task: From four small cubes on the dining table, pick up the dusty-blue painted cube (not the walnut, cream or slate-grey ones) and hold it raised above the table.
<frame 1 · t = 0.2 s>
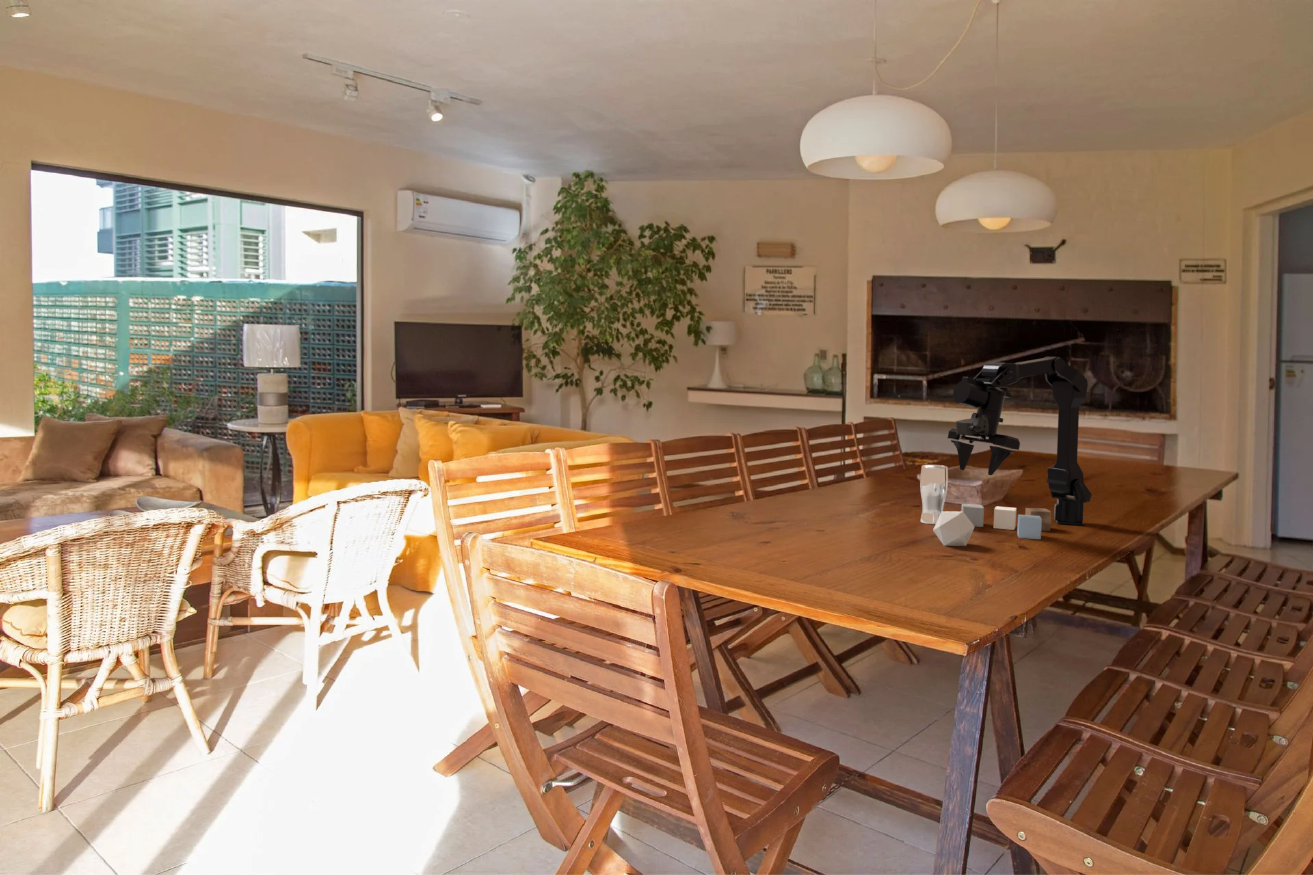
hand: (975, 472, 238), 15 cm above the table, tool pointing down, fingers open, 9 cm apart
blue cube: (1028, 536, 234), on the table
grey cube: (971, 524, 249), on the table
die: (952, 545, 223), on the table
cream cube: (1004, 527, 245), on the table
beer glass: (932, 523, 251), on the table
walnut cube: (1037, 529, 244), on the table
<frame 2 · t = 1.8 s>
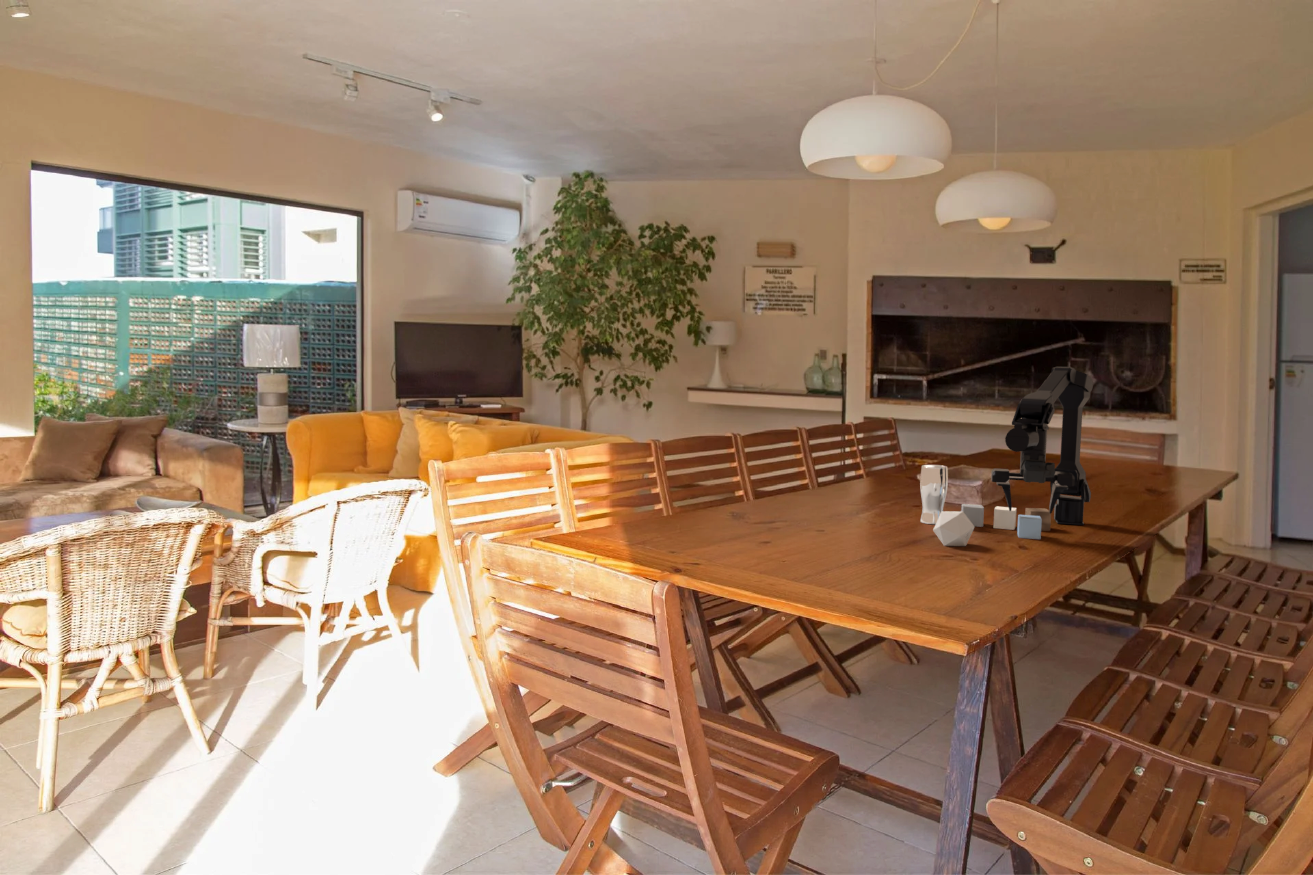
hand: (1030, 512, 233), 6 cm above the table, tool pointing down, fingers open, 9 cm apart
nothing on the table moved.
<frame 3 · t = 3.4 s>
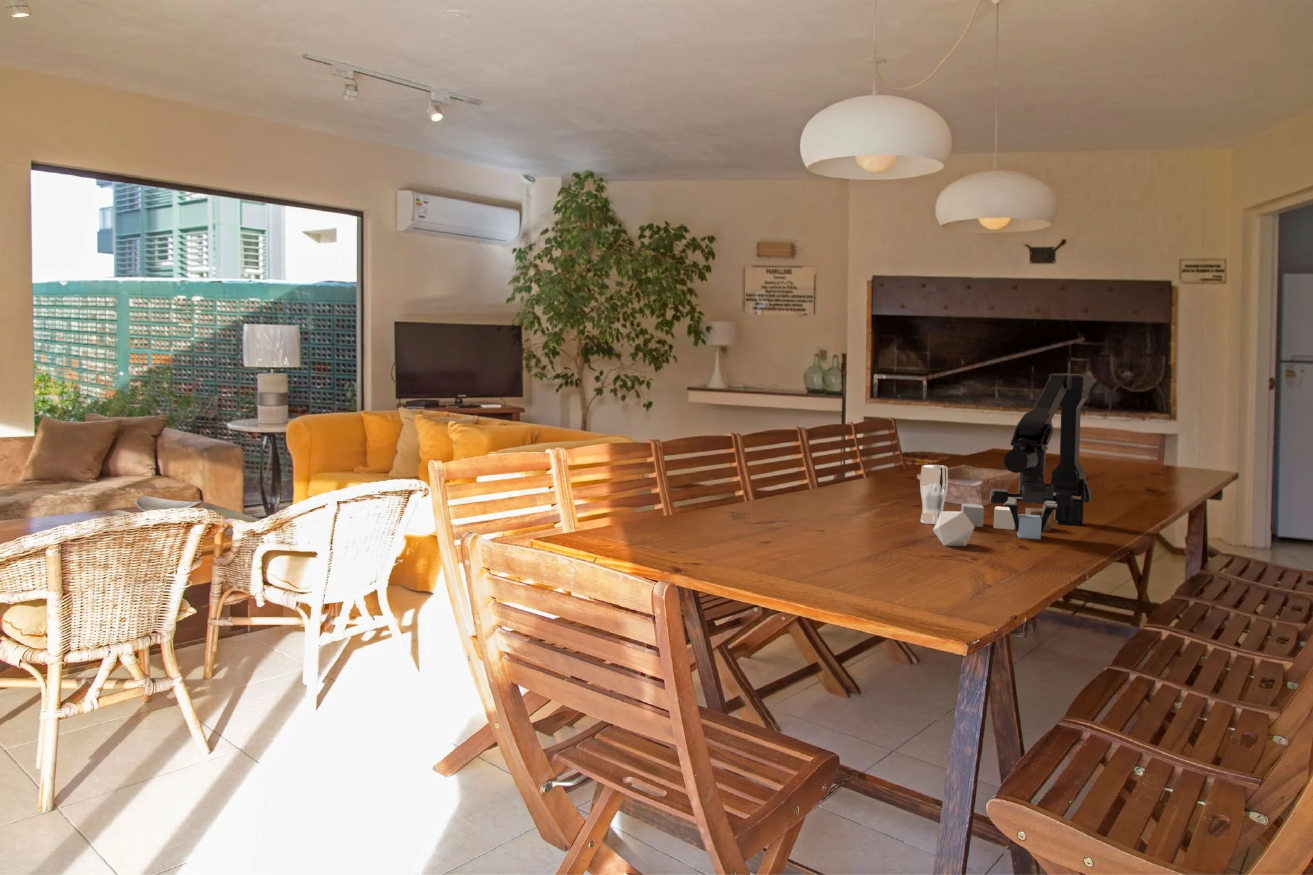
hand: (1028, 532, 233), 1 cm above the table, tool pointing down, fingers closed on blue cube, 5 cm apart
blue cube: (1028, 536, 234), on the table, touching gripper
everything else where it was.
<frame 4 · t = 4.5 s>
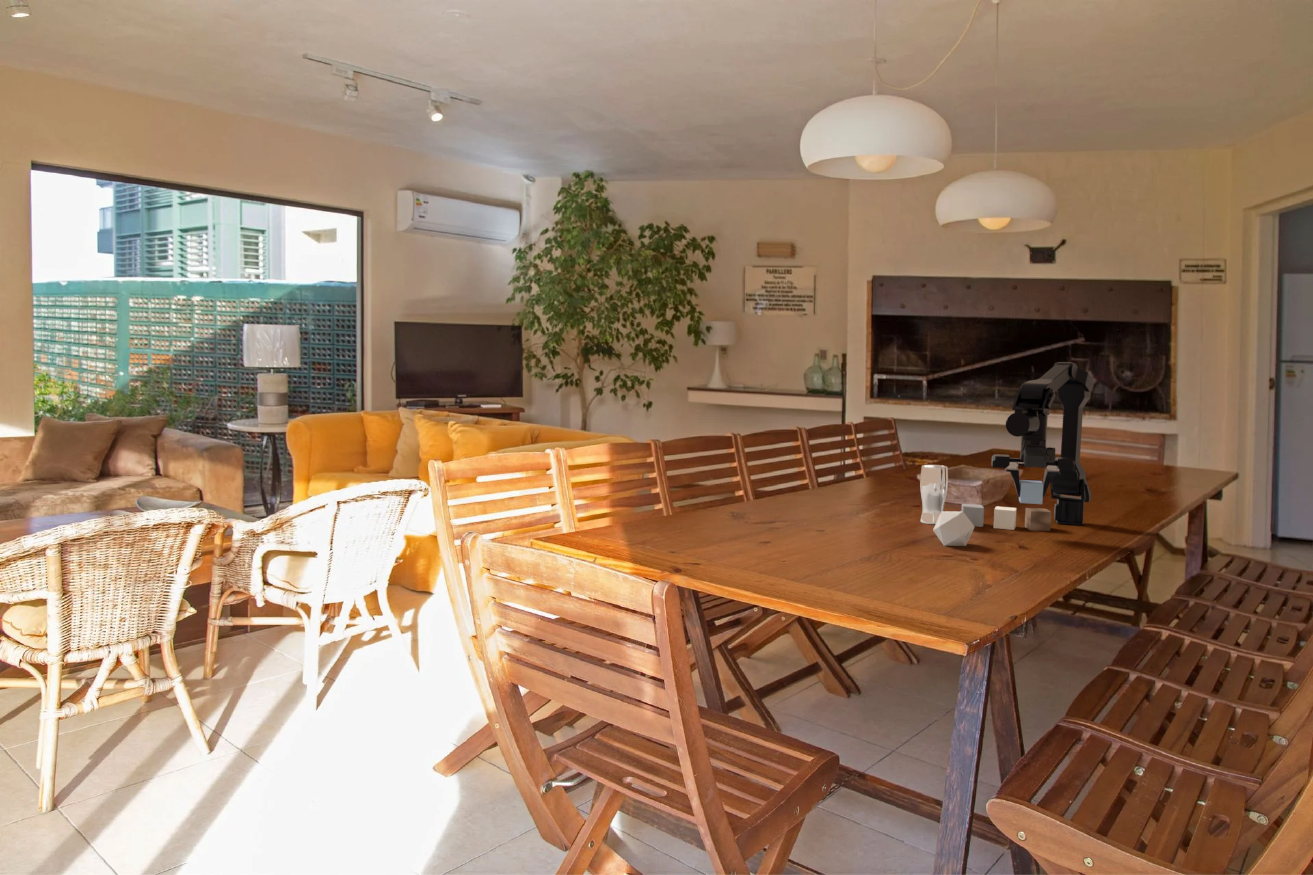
hand: (1030, 497, 233), 10 cm above the table, tool pointing down, fingers closed on blue cube, 5 cm apart
blue cube: (1030, 501, 233), point 9 cm above the table, touching gripper
everything else where it was.
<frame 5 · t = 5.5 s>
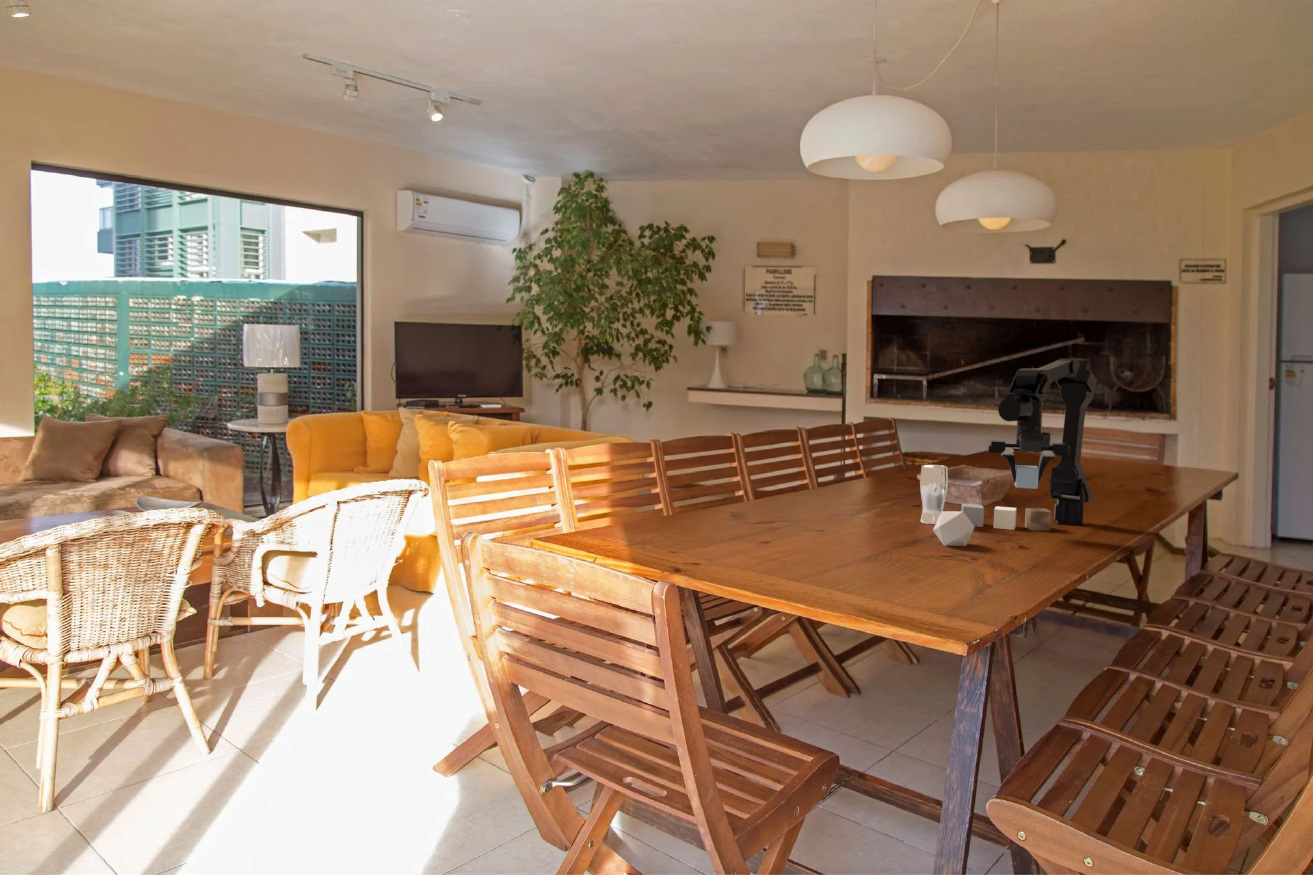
hand: (1026, 482, 235), 13 cm above the table, tool pointing down, fingers closed on blue cube, 5 cm apart
blue cube: (1026, 486, 235), point 12 cm above the table, touching gripper
everything else where it was.
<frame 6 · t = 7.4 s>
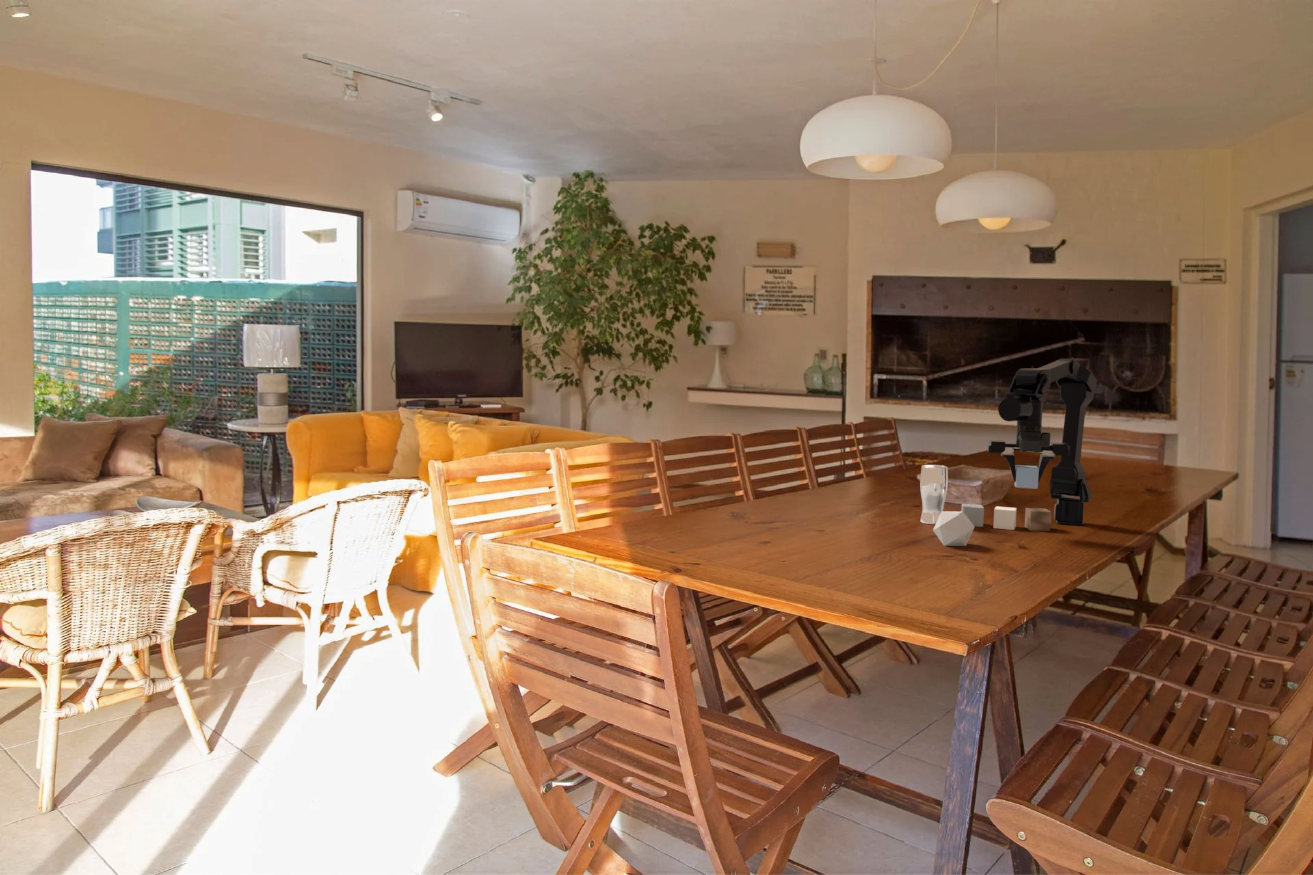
hand: (1026, 482, 235), 13 cm above the table, tool pointing down, fingers closed on blue cube, 5 cm apart
blue cube: (1025, 486, 236), point 12 cm above the table, touching gripper
everything else where it was.
at the end: the gripper is holding blue cube; blue cube point 11.9 cm above the table; cream cube moved 0.1 cm from its start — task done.
